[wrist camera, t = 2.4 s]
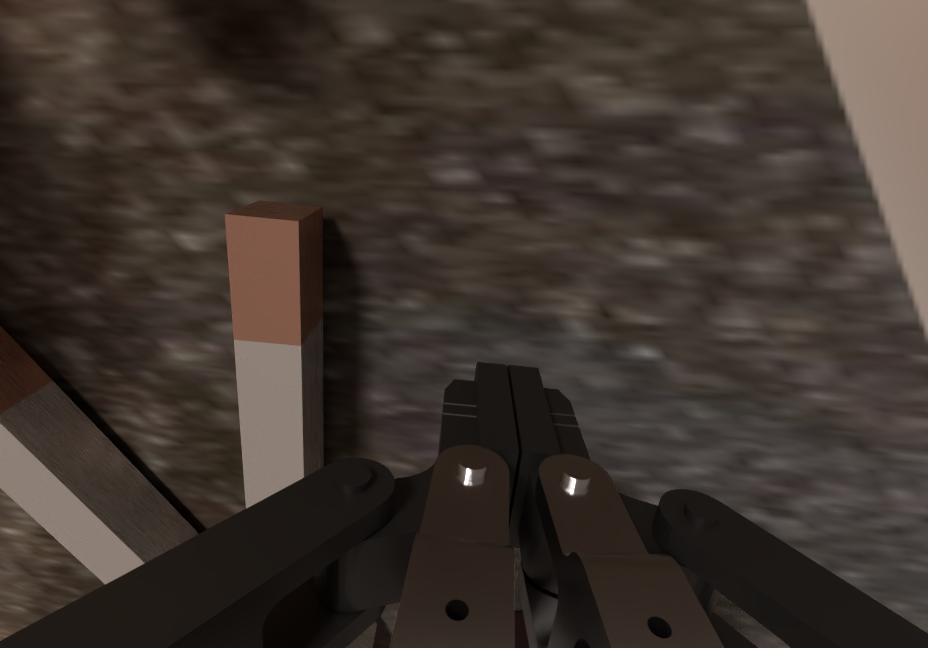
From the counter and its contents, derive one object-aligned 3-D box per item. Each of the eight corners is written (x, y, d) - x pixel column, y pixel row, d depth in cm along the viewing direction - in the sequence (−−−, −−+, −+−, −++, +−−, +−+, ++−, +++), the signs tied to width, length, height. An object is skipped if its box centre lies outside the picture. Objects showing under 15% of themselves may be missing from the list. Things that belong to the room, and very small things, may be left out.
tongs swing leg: (336, 600, 28) (318, 662, 24) (268, 595, 28) (242, 657, 24) (339, 207, 20) (315, 224, 17) (245, 198, 20) (203, 213, 17)
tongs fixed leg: (377, 623, 28) (366, 679, 25) (276, 665, 29) (255, 722, 26) (48, 244, 20) (-18, 263, 18) (-68, 322, 22) (-147, 352, 19)
